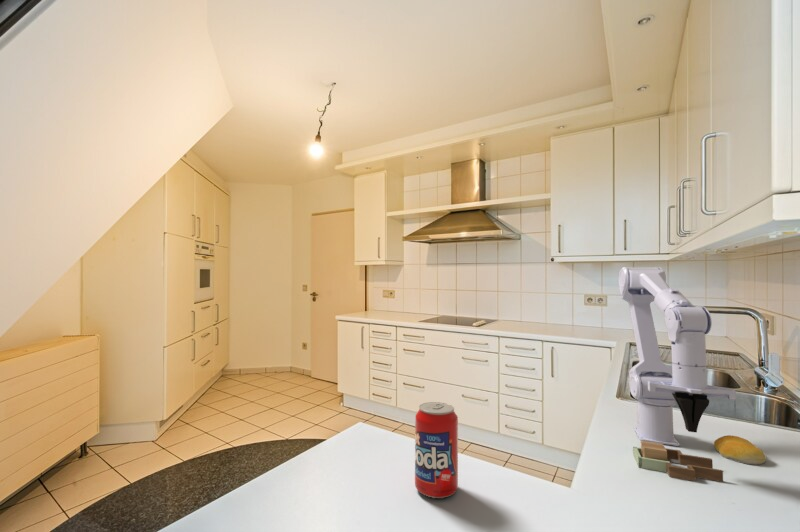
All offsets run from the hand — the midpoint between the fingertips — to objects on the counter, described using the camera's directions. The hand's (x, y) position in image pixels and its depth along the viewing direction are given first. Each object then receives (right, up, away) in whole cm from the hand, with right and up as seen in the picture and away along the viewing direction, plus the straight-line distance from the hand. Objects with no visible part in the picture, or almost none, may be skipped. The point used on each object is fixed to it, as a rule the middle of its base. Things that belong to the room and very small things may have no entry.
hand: (691, 430), depth 77 cm
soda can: (-54, -7, -9) cm, 55 cm away
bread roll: (+16, -9, +7) cm, 20 cm away
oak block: (-6, -8, +2) cm, 11 cm away
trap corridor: (-3, -8, +1) cm, 9 cm away
